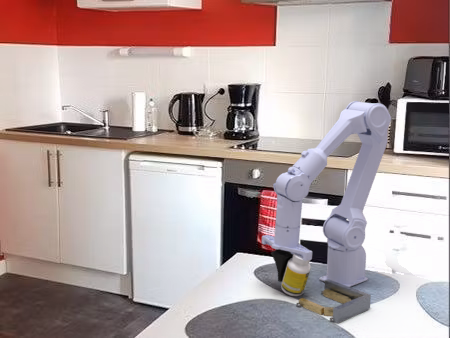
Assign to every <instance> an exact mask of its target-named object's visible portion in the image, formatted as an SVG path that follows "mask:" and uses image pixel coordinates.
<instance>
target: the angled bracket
mask: <svg viewBox="0 0 450 338" xmlns="http://www.w3.org/2000/svg"><path fill="white" fill-rule="evenodd" d="M323 288H324V290H321V291H320V294H321V295H322V296H323V297H326V298H328V299H330V300H333V301H335V302H337V303H341V304H340V305H337V306H334V307H330V306H328V307H327V306H323V305H320V304H318V303H316V302H314V301H312V300H309V299H307V298H304V297H301V298H299V299H298V302H296V303H295V304H296V305H295V306H296V308H301V307H303V308H304V309H307V310H309V311H311V312H313V313H314V314H315V313H316V314H317V315H321V316H325V317H326V316H327V317H329V322H331V323H334V324H335V323H336V324H339V323H342V322H344V321H347V320H349V319H351V318H353V317H355V316H358V315H360V314H362V313H364V312H366V311H369V309H370V308H371V297H372V296H371V294H369V293H366V292H364V291H361V290H358V289H356V288H354V287H352V286H351V287H348V286H345V285H343V284H340V283H337V282H335V281H332V280H329V279H327V280H325V282H324V287H323Z"/></svg>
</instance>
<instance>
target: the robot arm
mask: <svg viewBox="0 0 450 338" xmlns="http://www.w3.org/2000/svg"><path fill="white" fill-rule="evenodd" d="M391 121H392V116H391V115H390V112H389V109H388V108H387V106H385V105H384V104H383V103H380V102H377V103H371V102H364V101H363V102H362V101H359V100H354V101H351V102H349V103H348V104H347V106H346V107H345V108H344V109H343V110H342V111H340V114H339V118H338V120H336V122H335V123H334V124H333V126H332V127H331V128H330V129H329V131H328V132H327V133H326V134H325V136H324V137H323V138H322V139H321V141H320V142H319V143H318V144H317V145H316V146H315V147H313V148H307V150H303V151H302V152H301V153H300V155H301V156H300V157H299V158H298V159H297V160H296V162H294V164H293V165H292V166H290V167H288V169H287V172H283V173H281V174H279V176H278V177H277V178H276V180H275V183H273V190H274V193H276V210H275V211H276V214H275V224H274V225H275V227H274V235H273V236H272V235H269V234H266V235H265V234H264V235H262V236H261V244H263V245H268V246H270V247H271V248H272V249H275V250H274V251H271V256H272V258H273V261H274V263H275V267H276V270H277V281H278V282H280V283H282V281H283V277H284V274H285V270H286V267H287V263H288V261H289V260H290V259H291V258H292V257H293V254H294V253H298V254H300V255H301V256H302V257H303V260H305V261H307V260H310V261H311V260H312V259H313V251H312V250H310V249H308V248H307V247H305V246H303V245H302V244H300V243H299V242H300V233H301V232H300V231H301V223H302V221H301V220H302V209H303V200H304V199H305V198H306V197H307V196H308V195H309V192H310V186H311V185H312V183H313V181H314V180H315V179H317V177H318V176H319V175H320V174H321V173H322V172H323V170H324V169H325V168H326V167H327V166H328V157H329V156H330V155H331V154H332V153H334V151H335V150H337V149H338V147H339V146H341V144H342V143H343V142H344V141H345V140H347V139H348V137H350V136H351V135H354V134H356V135H357V136H358V138H359V140H360V142H361V145H360V148H359V152H358V154H357V157H356V160H355V163H354V166H353V169H352V171H351V174H350V177H349V179H348V182H347V185H346V189H345V191H344V193H343V197H342V199H341V202H340V204H339V205H337V206H336V207H334V208H332V209H331V213H330V214H329V216H328V217H327V218H326V219H325V220H324V223H323V225H322V232H323V235H324V237H325V238H326V239H327V241H326V243H327V259H326V260H327V262H326V264H327V265H326V267H327V269H326V275H322V276H321V277H319V281H322V282H324V283H325V280H327V279H329V280H332V281H335V282H337V283H340V284H343V285H345V286H348V287H351V288H352V287H354V286H356V285H358V284H361V283H363V282H366V281H369V280H368V279H369V278H368V277H366V265H367V263H366V262H367V253H366V249H365V248H364V246H363V243H364V242H365V239H366V227H367V224H368V222H367V220H366V217H365V214H364V209H365V206H366V203H367V200H368V197H369V195H370V192H371V189H372V186H373V183H374V180H375V178H376V176H377V172H378V170H379V167H380V164H381V162H382V158H383V156H384V154H385V150H386V148H387V145H388V132H389V131H388V129H389V126H390V123H391Z"/></svg>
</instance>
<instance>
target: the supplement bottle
mask: <svg viewBox="0 0 450 338" xmlns="http://www.w3.org/2000/svg"><path fill="white" fill-rule="evenodd" d="M310 262H311V260H307V261H305V260H303V257H302V256H301V255H300V254H298V253H294V254H293V257H292V258H291V259H290V260H289V261H288V263H287V267H286V270H285V274H284V277H283V281H282V282H281V284H280V286H281V287H280V288H281V290H282V291H283V292H284V293H285V294H286V295H289V296H290V297H300V296H302V295H303V294H304V292H305V289H306V285H307V282H308V279H309V276H310V273H311V269H312V268H311V266H312V265H311V264H310Z"/></svg>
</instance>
